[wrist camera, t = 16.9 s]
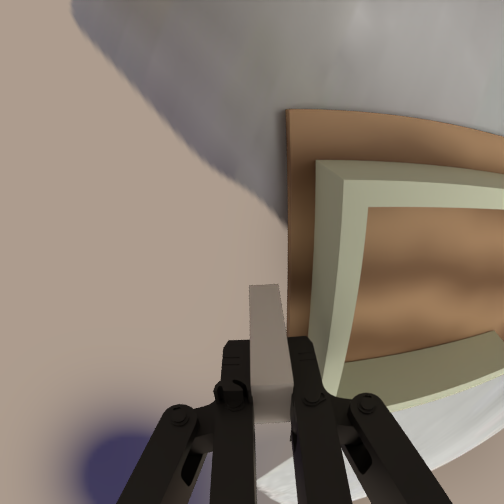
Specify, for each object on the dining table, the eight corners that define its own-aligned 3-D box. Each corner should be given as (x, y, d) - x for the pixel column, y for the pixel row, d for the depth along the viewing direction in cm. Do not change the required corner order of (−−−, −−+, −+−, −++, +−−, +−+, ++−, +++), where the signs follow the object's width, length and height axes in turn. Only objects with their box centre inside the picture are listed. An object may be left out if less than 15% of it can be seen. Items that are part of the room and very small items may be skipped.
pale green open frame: (315, 159, 14) (343, 179, 10) (538, 180, 14) (578, 200, 10) (304, 376, 20) (312, 426, 16) (490, 338, 20) (513, 369, 16)
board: (285, 109, 14) (294, 108, 11) (579, 165, 14) (598, 173, 11) (284, 381, 23) (288, 410, 20) (534, 325, 23) (546, 339, 20)
